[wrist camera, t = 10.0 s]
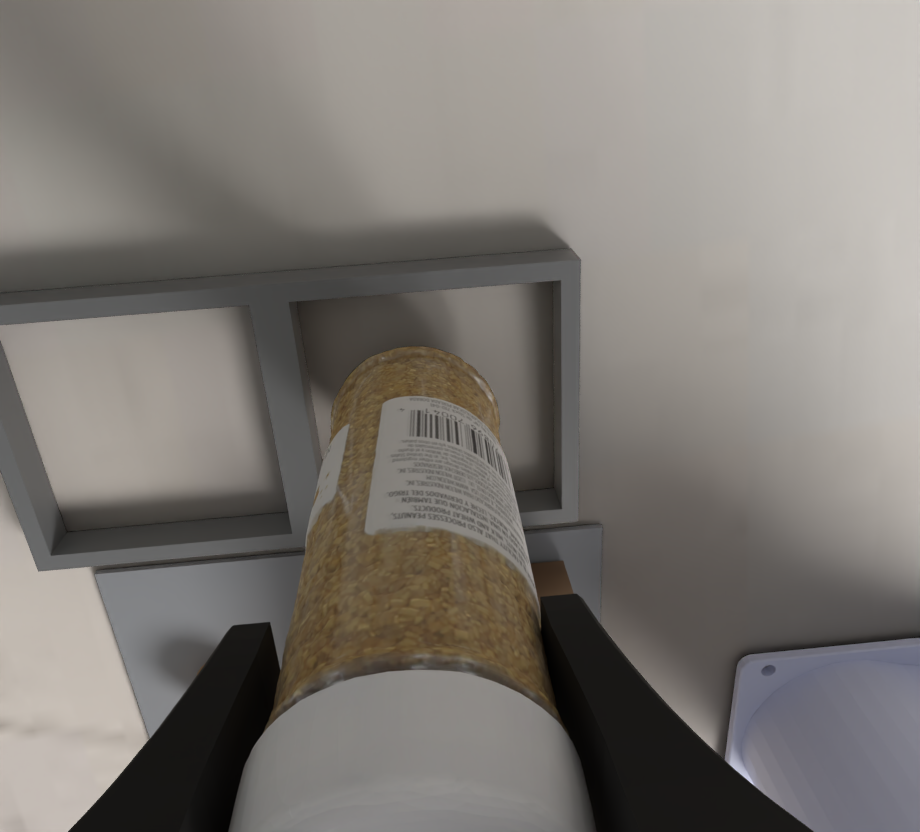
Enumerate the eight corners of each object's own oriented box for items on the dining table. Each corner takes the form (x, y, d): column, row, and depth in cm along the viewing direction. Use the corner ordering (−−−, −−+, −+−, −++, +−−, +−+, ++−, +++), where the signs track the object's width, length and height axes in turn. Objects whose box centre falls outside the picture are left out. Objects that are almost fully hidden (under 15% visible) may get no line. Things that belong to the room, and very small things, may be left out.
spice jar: (297, 413, 20) (116, 942, 8) (424, 304, 19) (430, 733, 7) (412, 520, 22) (401, 1093, 10) (535, 425, 21) (694, 941, 9)
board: (600, 523, 24) (617, 561, 23) (595, 743, 29) (608, 789, 27) (96, 570, 24) (72, 612, 22) (169, 787, 28) (153, 838, 27)
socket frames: (571, 248, 21) (580, 259, 19) (570, 500, 24) (578, 521, 23) (-36, 295, 20) (-61, 310, 19) (55, 547, 23) (38, 571, 22)
